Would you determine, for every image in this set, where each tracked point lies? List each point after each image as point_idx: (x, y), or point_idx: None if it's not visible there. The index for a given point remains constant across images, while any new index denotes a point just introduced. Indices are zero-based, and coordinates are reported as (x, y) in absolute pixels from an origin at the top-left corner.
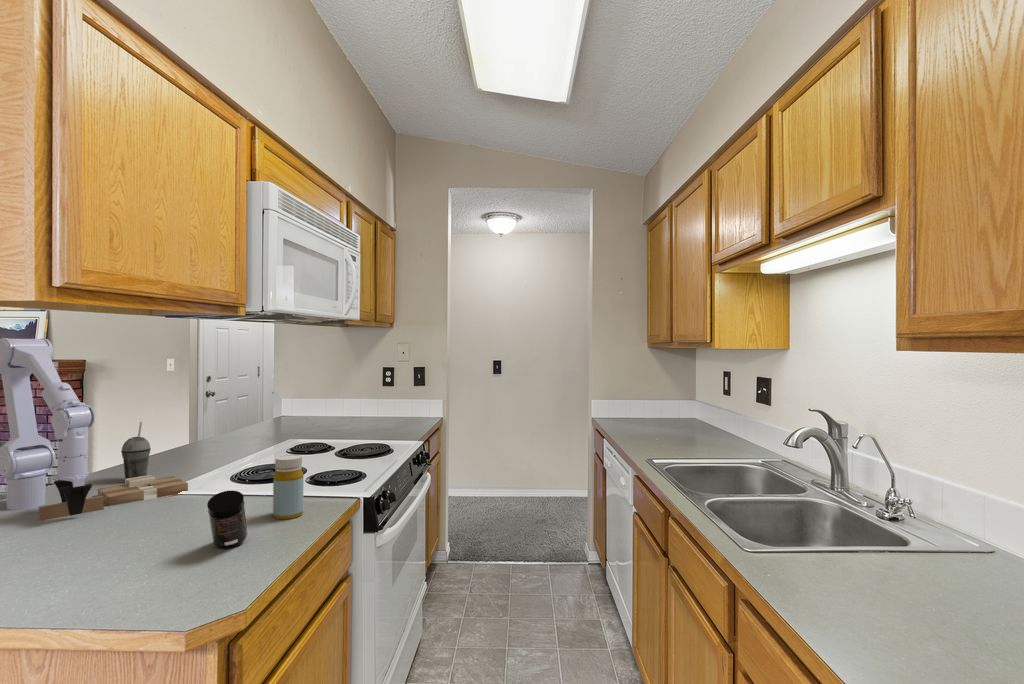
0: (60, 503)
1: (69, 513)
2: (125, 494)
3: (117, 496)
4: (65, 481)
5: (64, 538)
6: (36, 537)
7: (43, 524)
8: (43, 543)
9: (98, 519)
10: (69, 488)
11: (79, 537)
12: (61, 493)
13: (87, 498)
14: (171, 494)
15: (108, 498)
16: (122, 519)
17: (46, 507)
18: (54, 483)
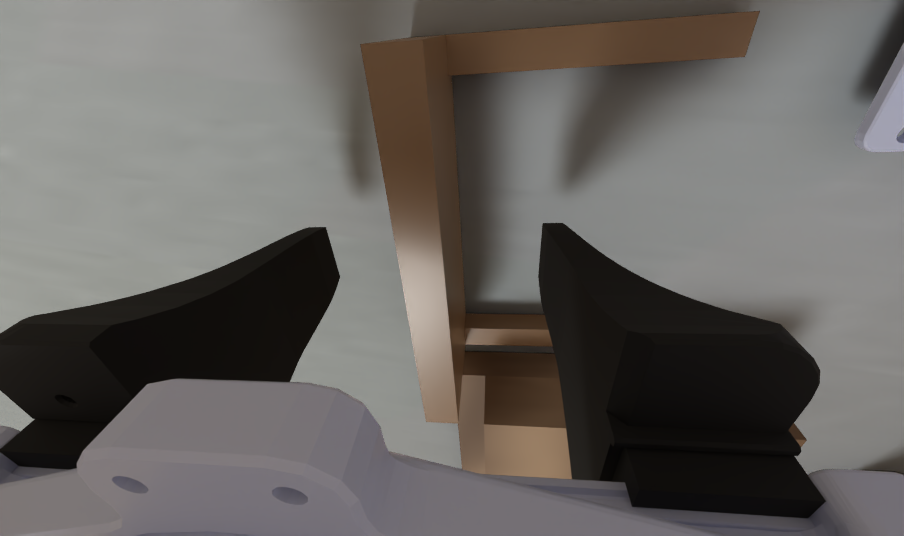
0: (417, 223)
1: (306, 230)
2: (485, 468)
3: (485, 444)
4: (602, 431)
5: (114, 145)
6: (199, 6)
7: (527, 73)
8: (45, 37)
9: (397, 305)
10: (11, 387)
11: (109, 201)
12: (573, 285)
13: (444, 366)
14: None
15: (497, 416)
16: (327, 359)
17: (375, 110)
18: (769, 326)
